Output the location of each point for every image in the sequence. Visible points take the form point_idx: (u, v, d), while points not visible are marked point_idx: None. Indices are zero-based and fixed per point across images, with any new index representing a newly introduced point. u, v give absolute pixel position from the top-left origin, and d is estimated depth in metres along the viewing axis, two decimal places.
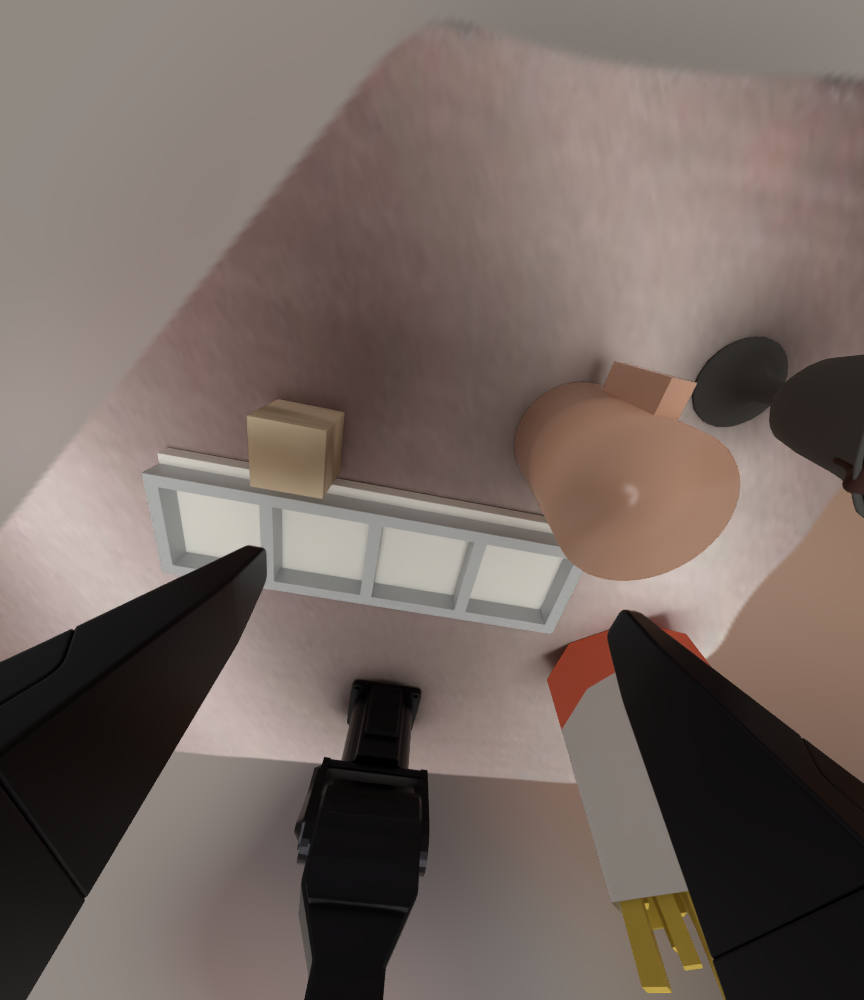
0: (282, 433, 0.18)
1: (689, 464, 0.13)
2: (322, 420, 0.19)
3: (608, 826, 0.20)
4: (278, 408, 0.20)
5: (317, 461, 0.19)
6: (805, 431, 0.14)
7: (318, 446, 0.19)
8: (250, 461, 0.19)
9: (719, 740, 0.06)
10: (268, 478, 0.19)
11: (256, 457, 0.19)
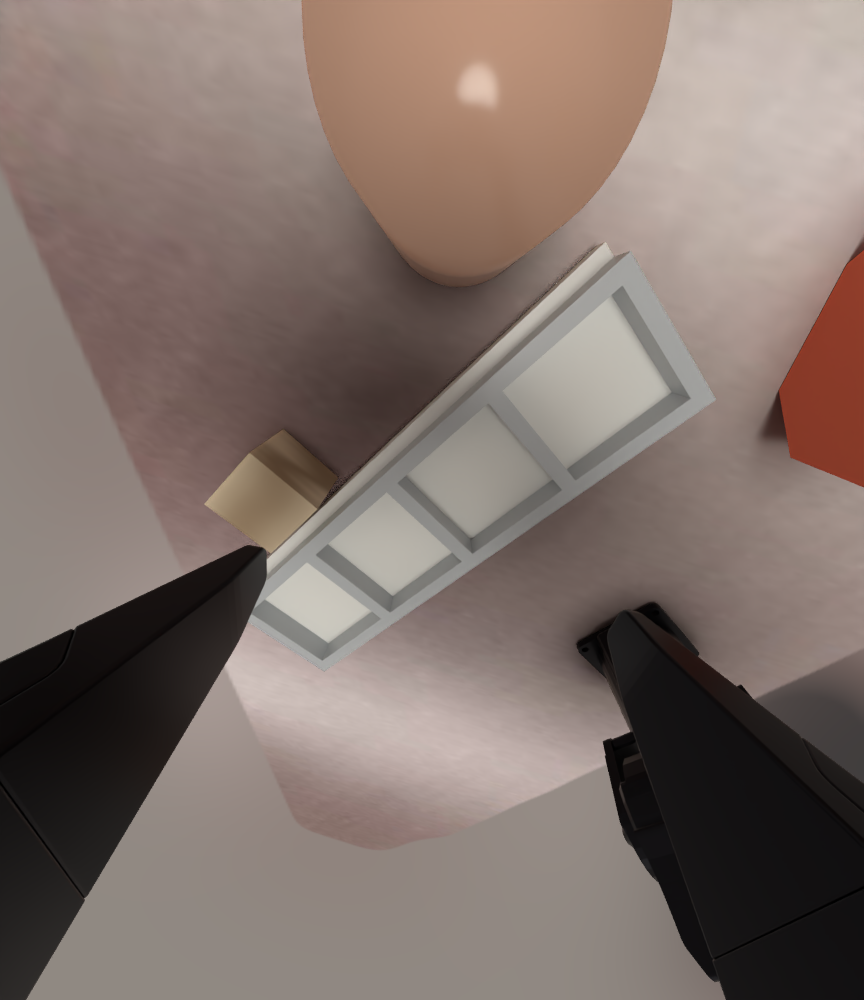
0: (234, 490, 0.17)
1: None
2: None
3: None
4: None
5: (276, 483, 0.17)
6: None
7: (261, 471, 0.17)
8: (247, 534, 0.18)
9: (719, 740, 0.06)
10: (271, 534, 0.18)
11: (246, 527, 0.18)
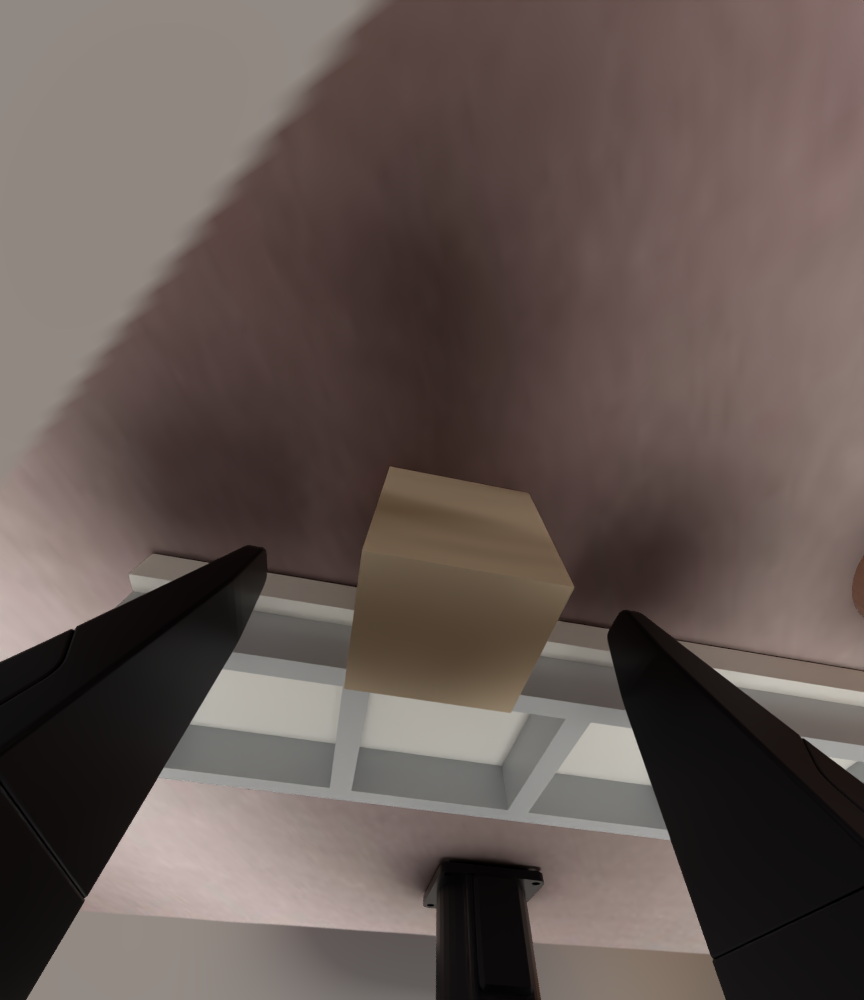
0: (450, 591, 0.07)
1: None
2: (524, 535, 0.08)
3: None
4: (410, 501, 0.08)
5: (524, 648, 0.07)
6: None
7: (539, 618, 0.07)
8: (353, 645, 0.08)
9: (719, 740, 0.06)
10: (391, 676, 0.08)
11: (370, 638, 0.07)
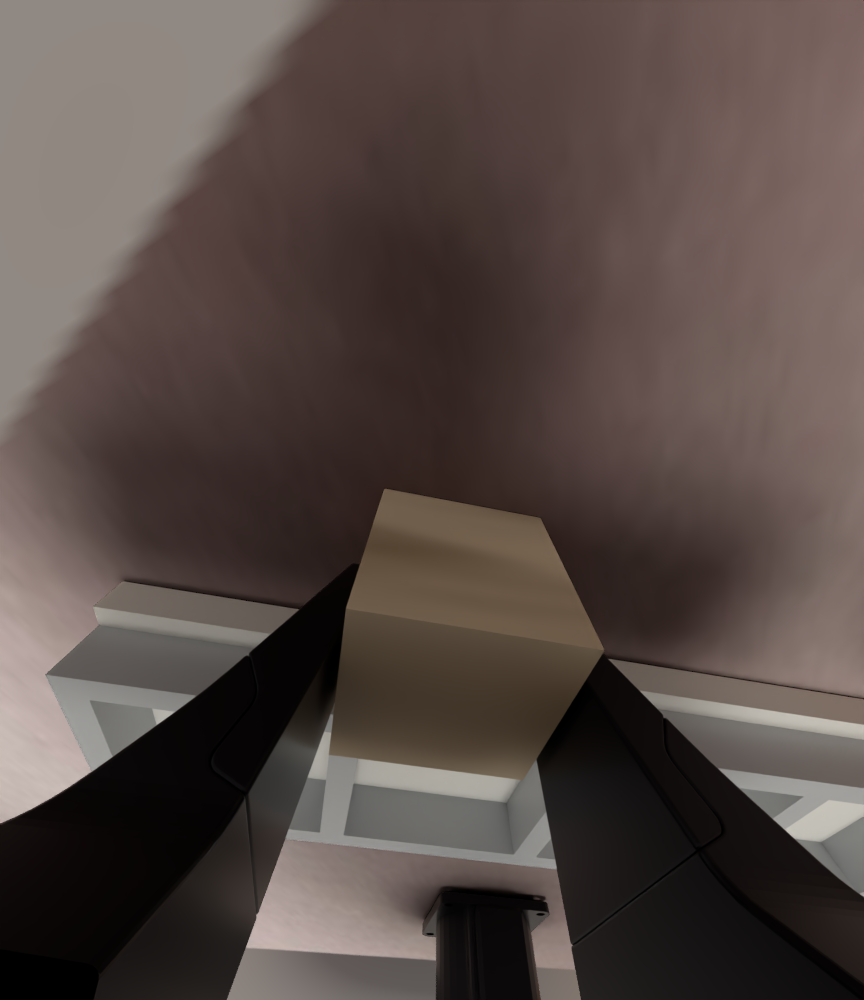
0: (454, 654, 0.06)
1: None
2: (539, 577, 0.07)
3: None
4: (407, 536, 0.07)
5: (541, 714, 0.06)
6: None
7: (559, 683, 0.06)
8: (338, 710, 0.06)
9: (585, 720, 0.06)
10: (383, 742, 0.07)
11: (358, 702, 0.06)
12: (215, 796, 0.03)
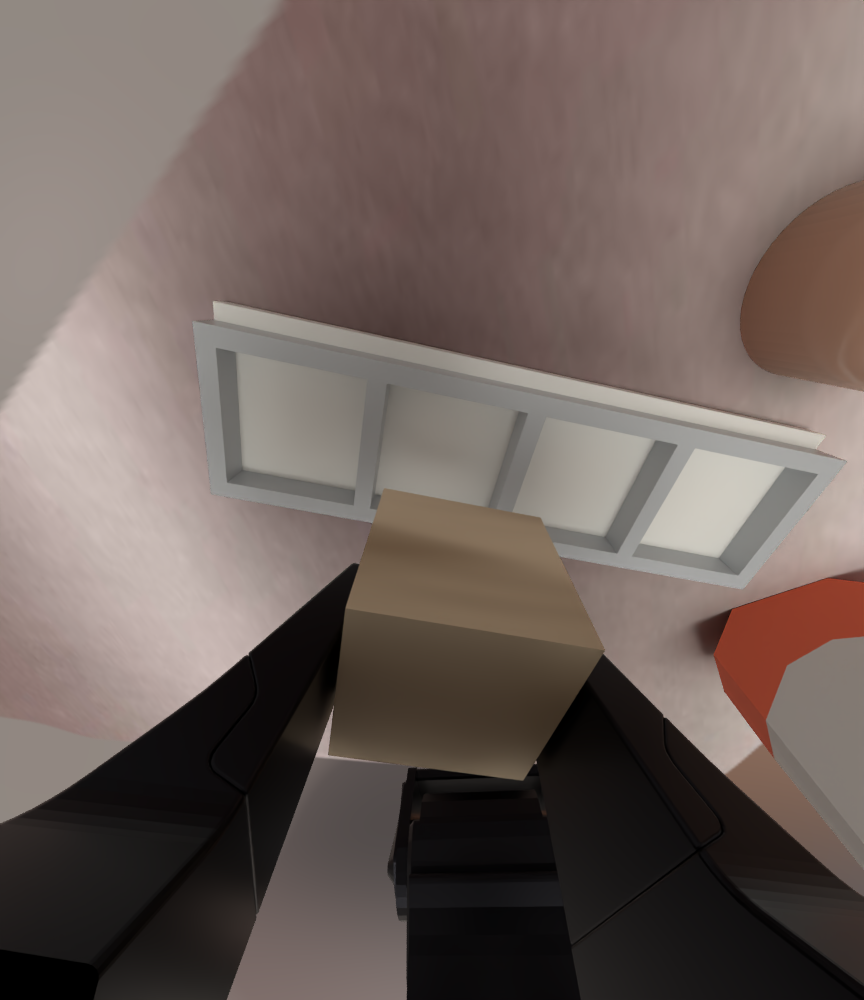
0: (454, 654, 0.06)
1: None
2: (539, 577, 0.07)
3: None
4: (406, 535, 0.07)
5: (542, 714, 0.06)
6: None
7: (560, 683, 0.06)
8: (338, 710, 0.06)
9: (585, 721, 0.06)
10: (383, 743, 0.07)
11: (357, 703, 0.06)
12: (215, 797, 0.03)
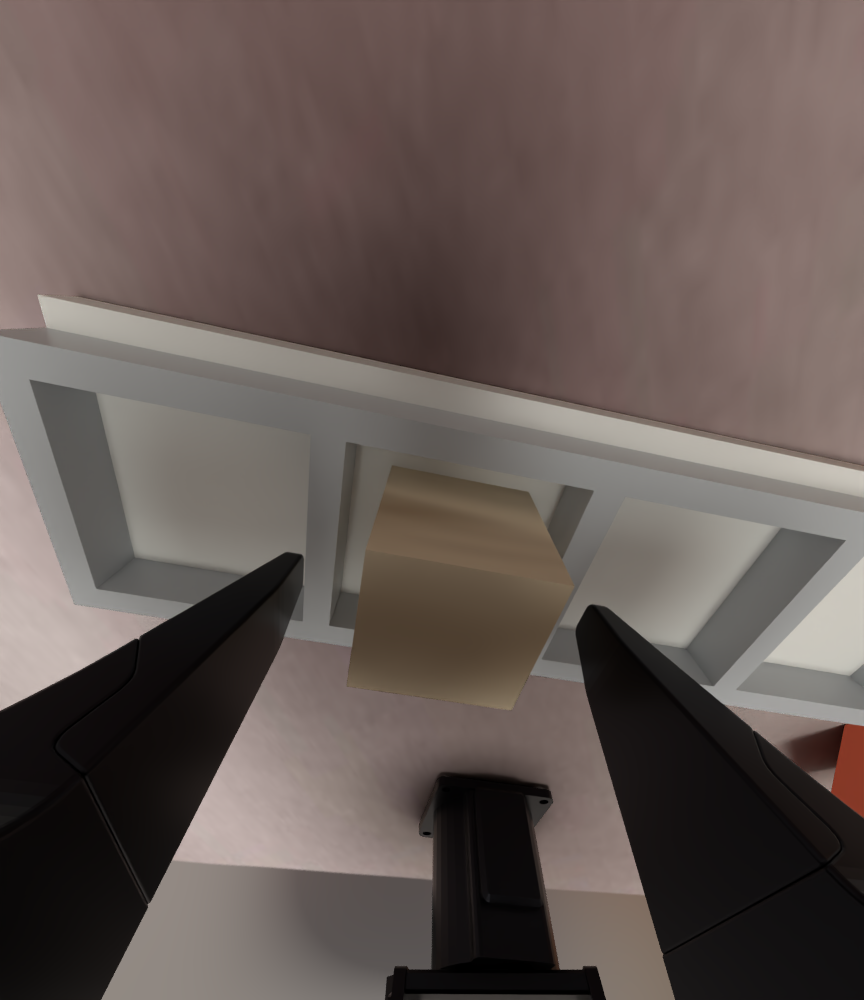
0: (453, 591, 0.07)
1: None
2: (524, 535, 0.08)
3: None
4: (412, 501, 0.08)
5: (525, 646, 0.08)
6: None
7: (539, 617, 0.07)
8: (356, 643, 0.08)
9: (672, 733, 0.06)
10: (393, 674, 0.08)
11: (373, 636, 0.08)
12: (46, 777, 0.03)
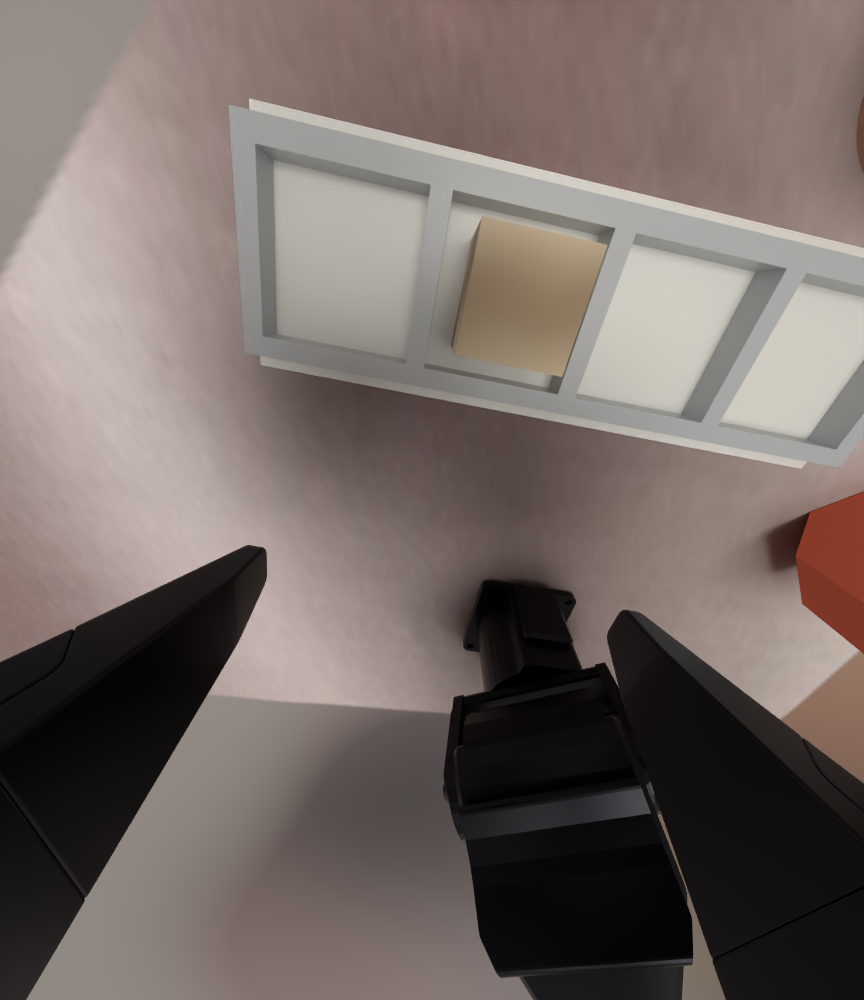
0: (532, 252, 0.11)
1: None
2: None
3: None
4: None
5: (574, 306, 0.12)
6: None
7: (584, 276, 0.11)
8: (466, 308, 0.12)
9: (719, 740, 0.06)
10: (487, 340, 0.12)
11: (477, 300, 0.12)
12: None
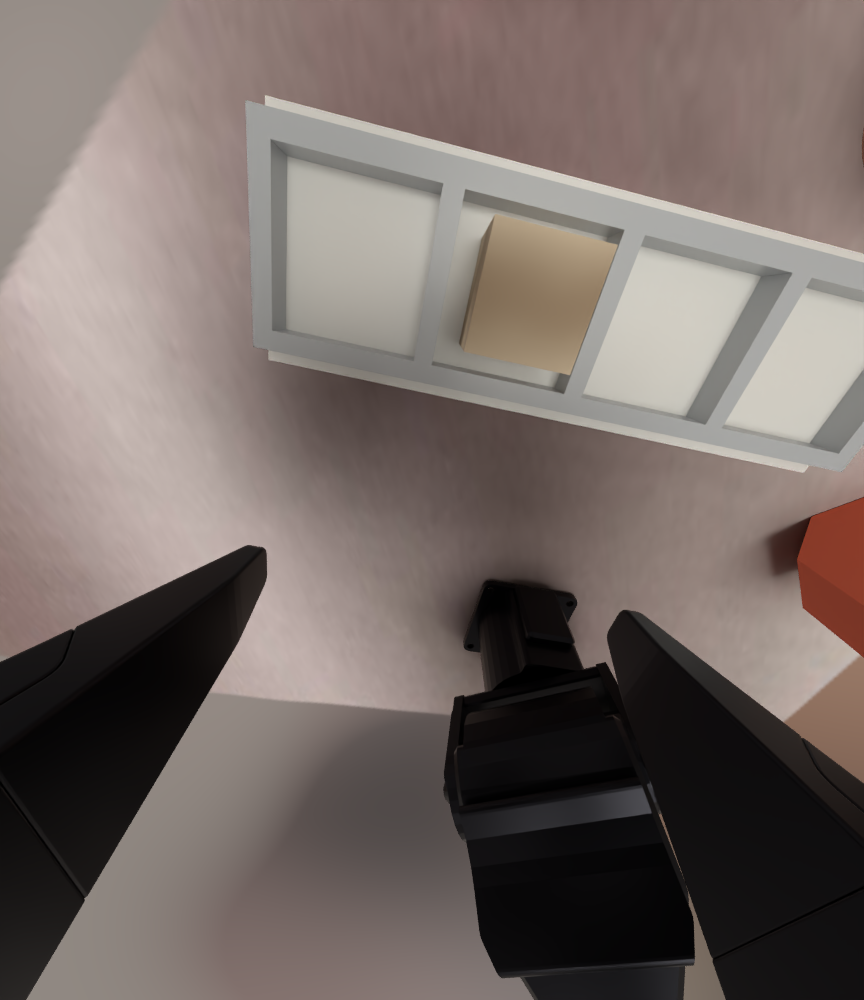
0: (543, 250, 0.11)
1: None
2: None
3: None
4: None
5: (584, 305, 0.12)
6: None
7: (594, 276, 0.12)
8: (477, 305, 0.12)
9: (719, 740, 0.06)
10: (496, 337, 0.13)
11: (488, 297, 0.12)
12: None
